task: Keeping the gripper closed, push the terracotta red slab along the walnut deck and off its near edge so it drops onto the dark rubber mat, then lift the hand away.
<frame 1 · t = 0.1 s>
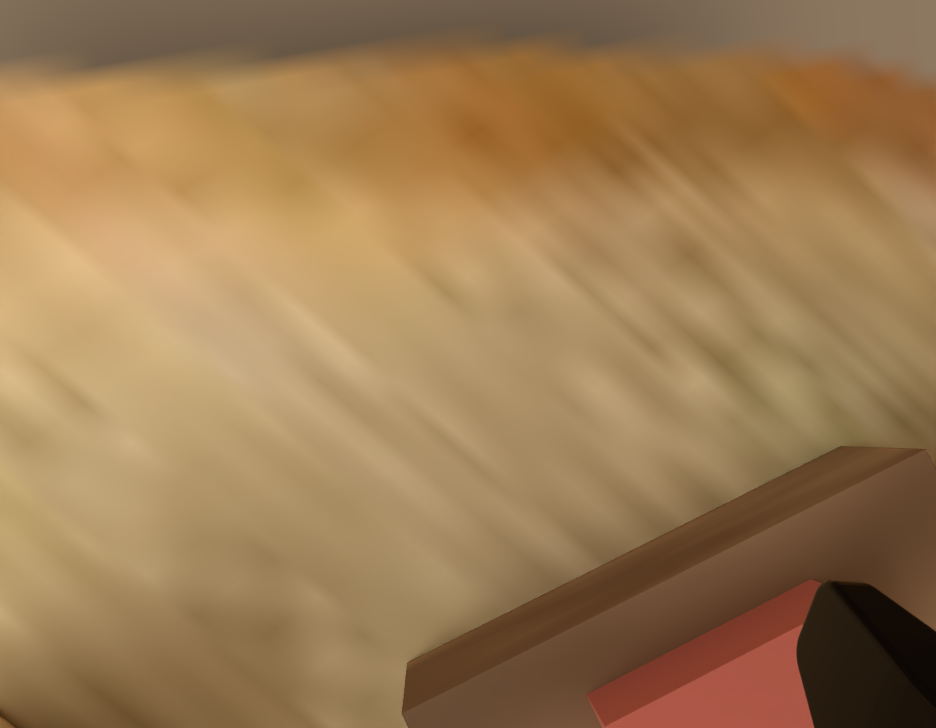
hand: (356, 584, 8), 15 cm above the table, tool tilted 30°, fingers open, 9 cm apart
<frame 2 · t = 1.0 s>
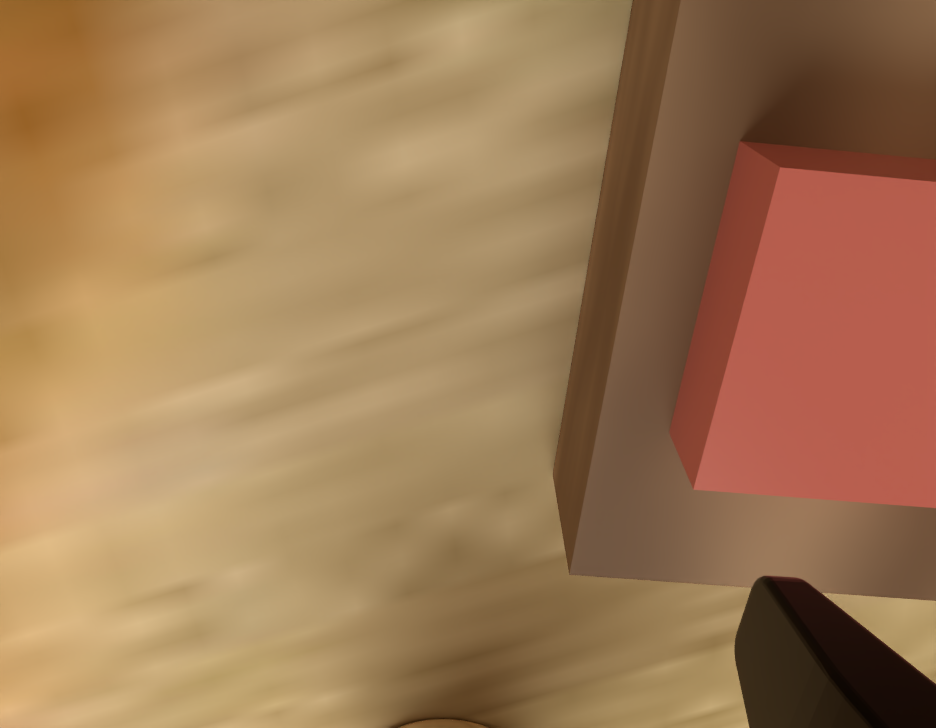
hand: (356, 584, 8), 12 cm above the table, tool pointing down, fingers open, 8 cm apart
terracotta red slab: (929, 319, 15), point 4 cm above the table, touching deck
deck: (923, 259, 19), on the table
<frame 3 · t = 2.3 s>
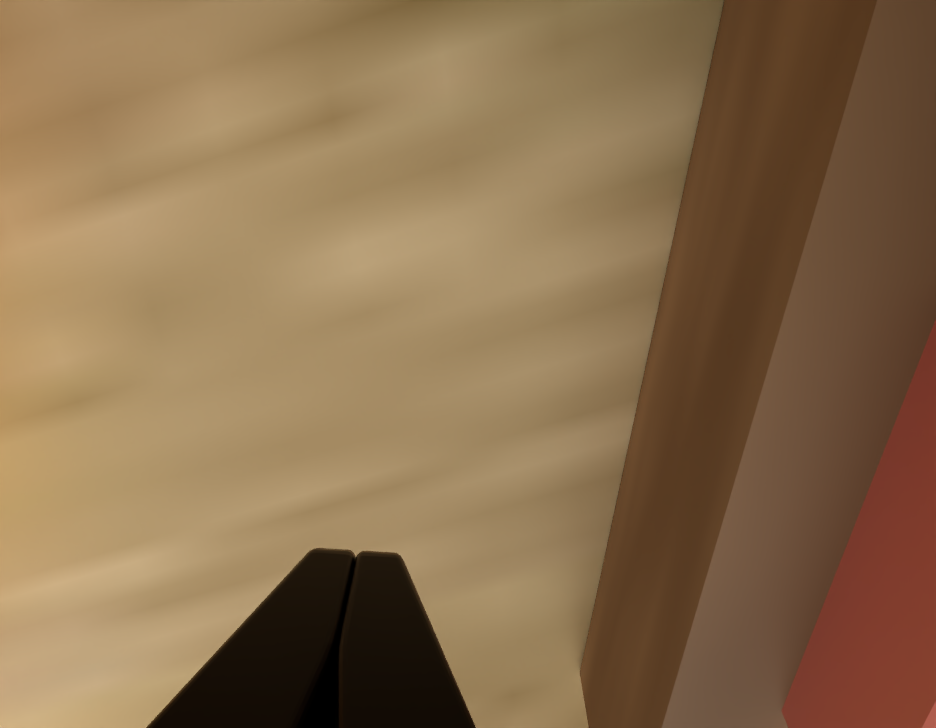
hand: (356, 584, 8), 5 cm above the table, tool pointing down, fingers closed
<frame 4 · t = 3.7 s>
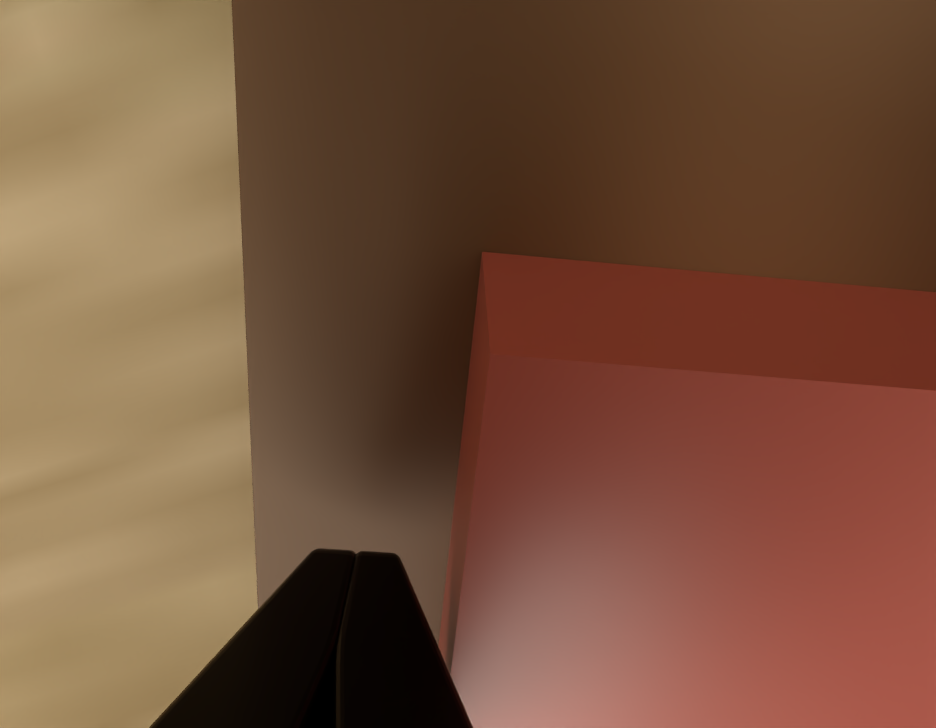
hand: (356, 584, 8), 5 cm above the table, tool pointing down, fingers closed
terracotta red slab: (864, 550, 9), point 4 cm above the table, touching deck, gripper
deck: (836, 381, 12), on the table
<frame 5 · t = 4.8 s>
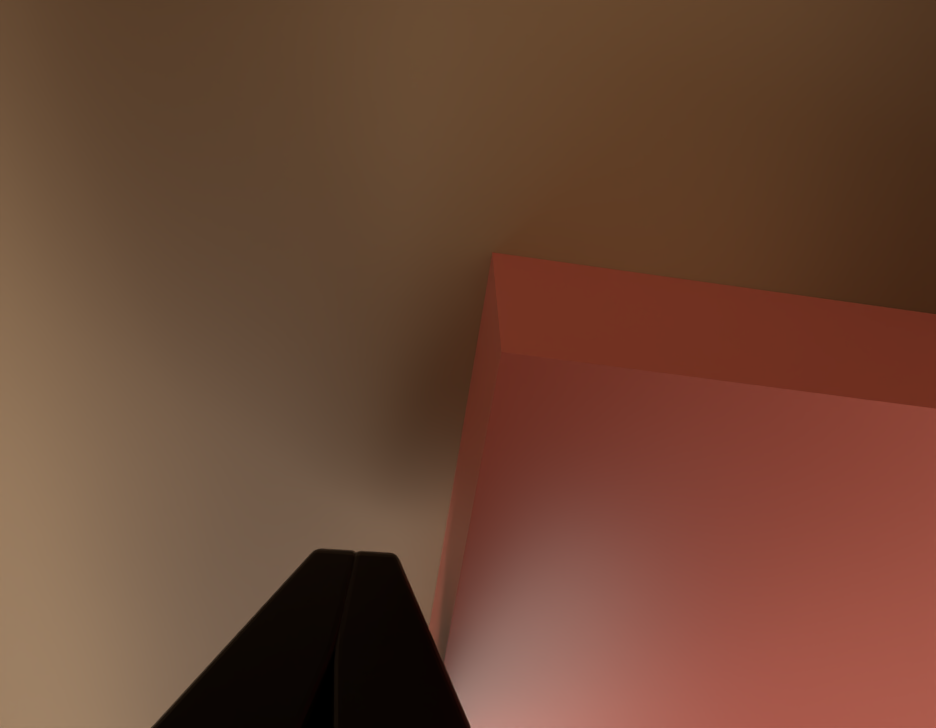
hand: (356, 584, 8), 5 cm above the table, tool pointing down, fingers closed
terracotta red slab: (851, 564, 9), point 4 cm above the table, touching gripper
deck: (327, 345, 12), on the table
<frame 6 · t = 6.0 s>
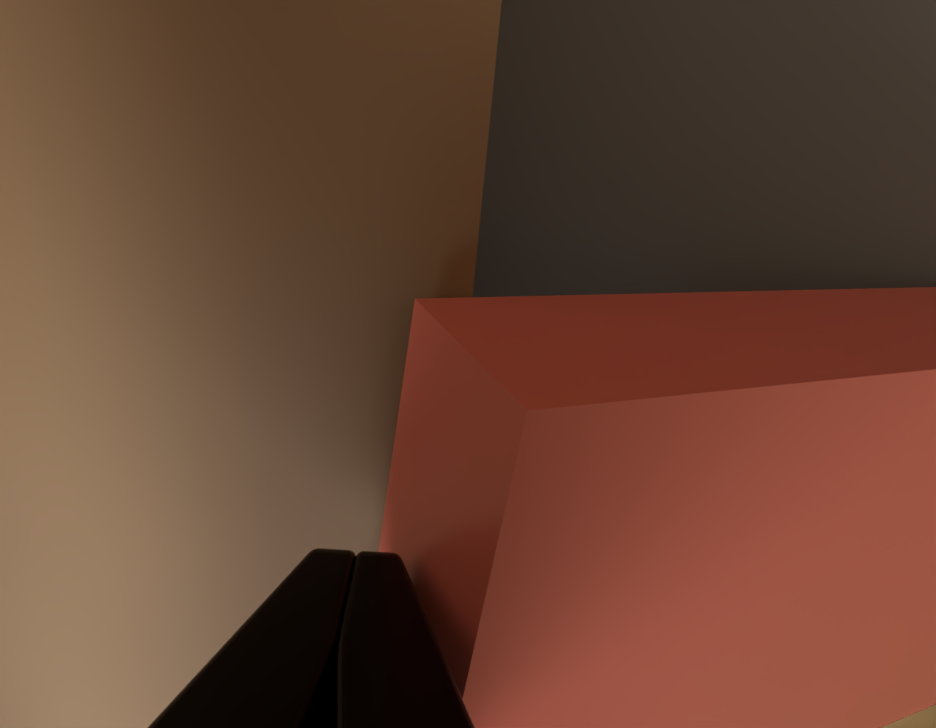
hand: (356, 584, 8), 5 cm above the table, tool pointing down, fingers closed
terracotta red slab: (699, 503, 10), point 2 cm above the table, tilted 26°, touching mat
mat: (921, 332, 12), on the table
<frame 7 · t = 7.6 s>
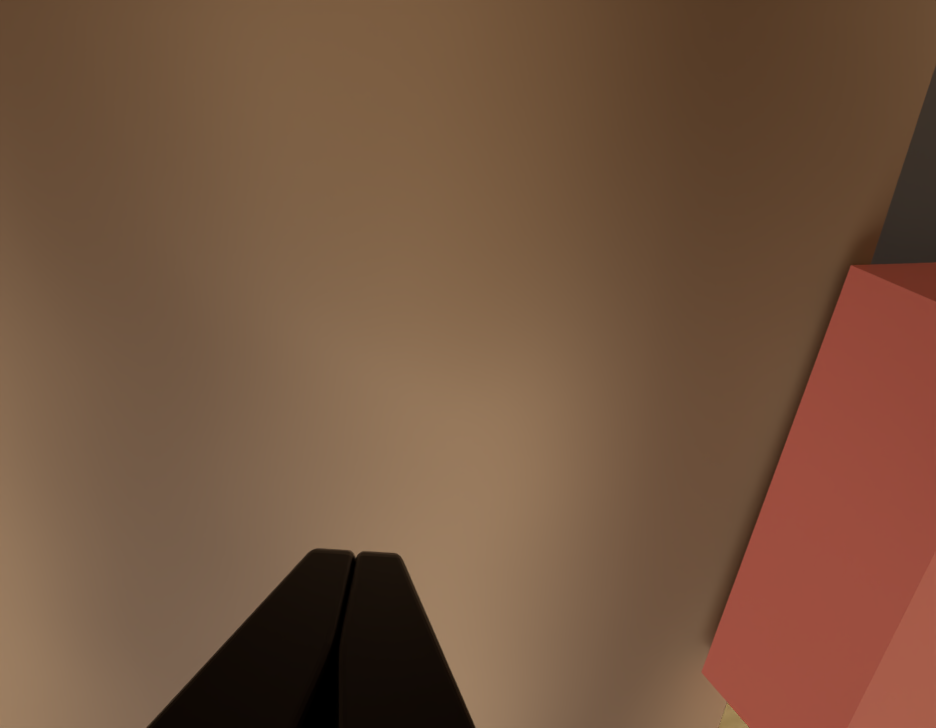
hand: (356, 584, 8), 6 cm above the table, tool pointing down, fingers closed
deck: (235, 297, 13), on the table
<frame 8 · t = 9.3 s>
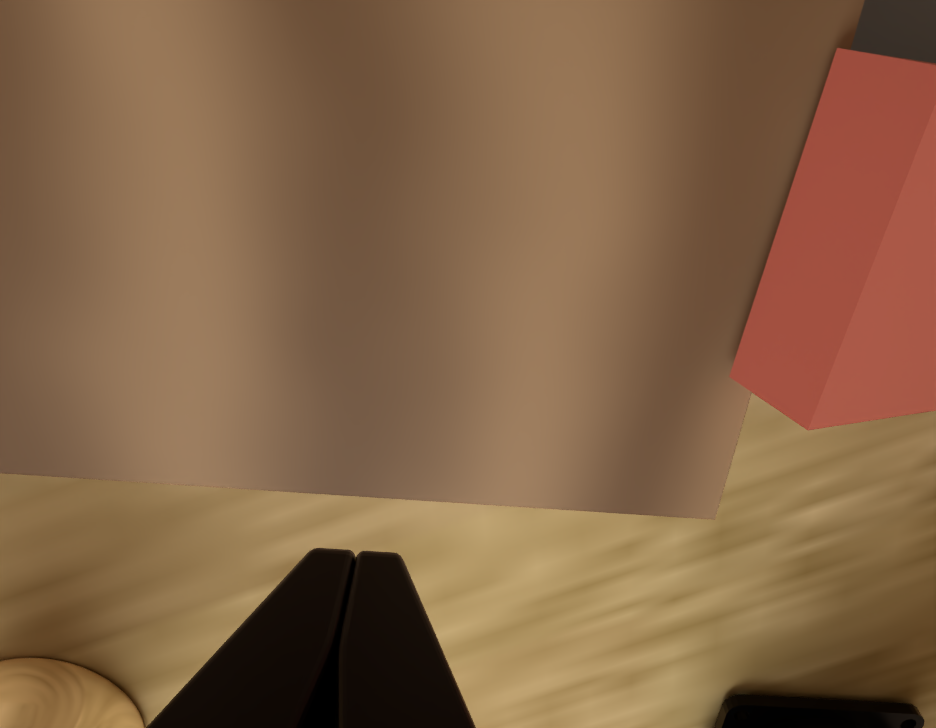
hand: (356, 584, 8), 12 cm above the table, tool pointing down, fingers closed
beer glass: (55, 716, 26), on the table
deck: (377, 126, 17), on the table
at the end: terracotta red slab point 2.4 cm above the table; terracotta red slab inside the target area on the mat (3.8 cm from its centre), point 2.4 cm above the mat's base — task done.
